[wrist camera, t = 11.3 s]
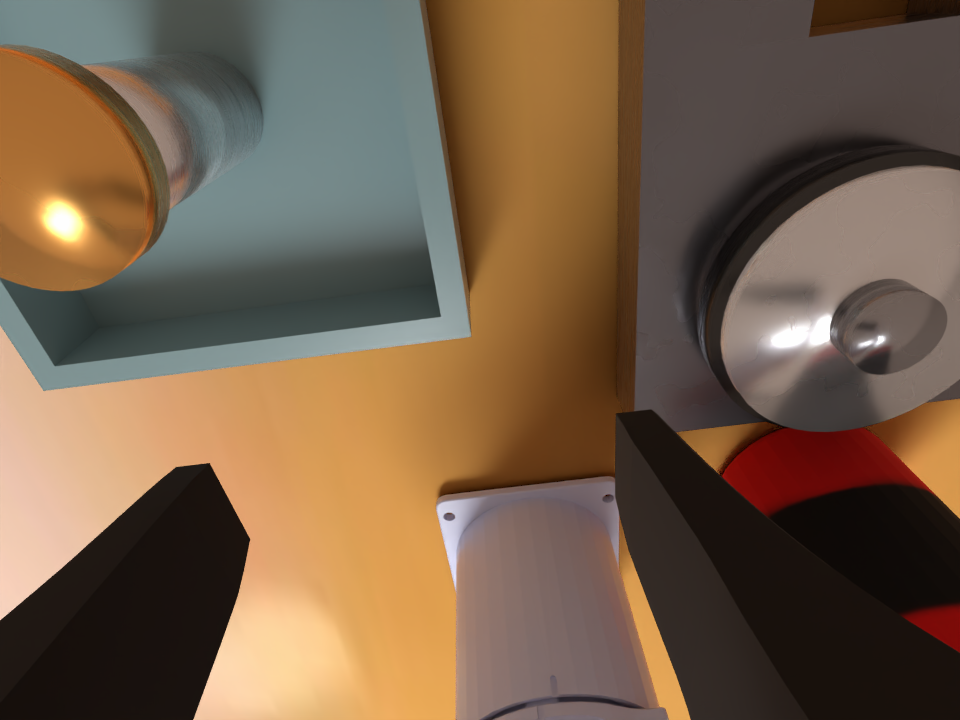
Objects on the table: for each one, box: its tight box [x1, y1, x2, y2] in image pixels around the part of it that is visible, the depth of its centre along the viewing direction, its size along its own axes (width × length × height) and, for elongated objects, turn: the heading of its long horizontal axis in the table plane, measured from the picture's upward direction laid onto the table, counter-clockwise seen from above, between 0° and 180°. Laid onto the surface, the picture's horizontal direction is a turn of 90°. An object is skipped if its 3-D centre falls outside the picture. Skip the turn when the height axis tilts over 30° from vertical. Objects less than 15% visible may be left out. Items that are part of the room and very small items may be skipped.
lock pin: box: [0, 44, 264, 291], centre depth 12 cm, size 4×4×8 cm
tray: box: [0, 0, 471, 391], centre depth 15 cm, size 14×14×3 cm
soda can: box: [722, 427, 960, 652], centre depth 20 cm, size 8×8×12 cm
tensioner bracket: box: [617, 0, 960, 432], centre depth 15 cm, size 18×12×6 cm, turn 7°
